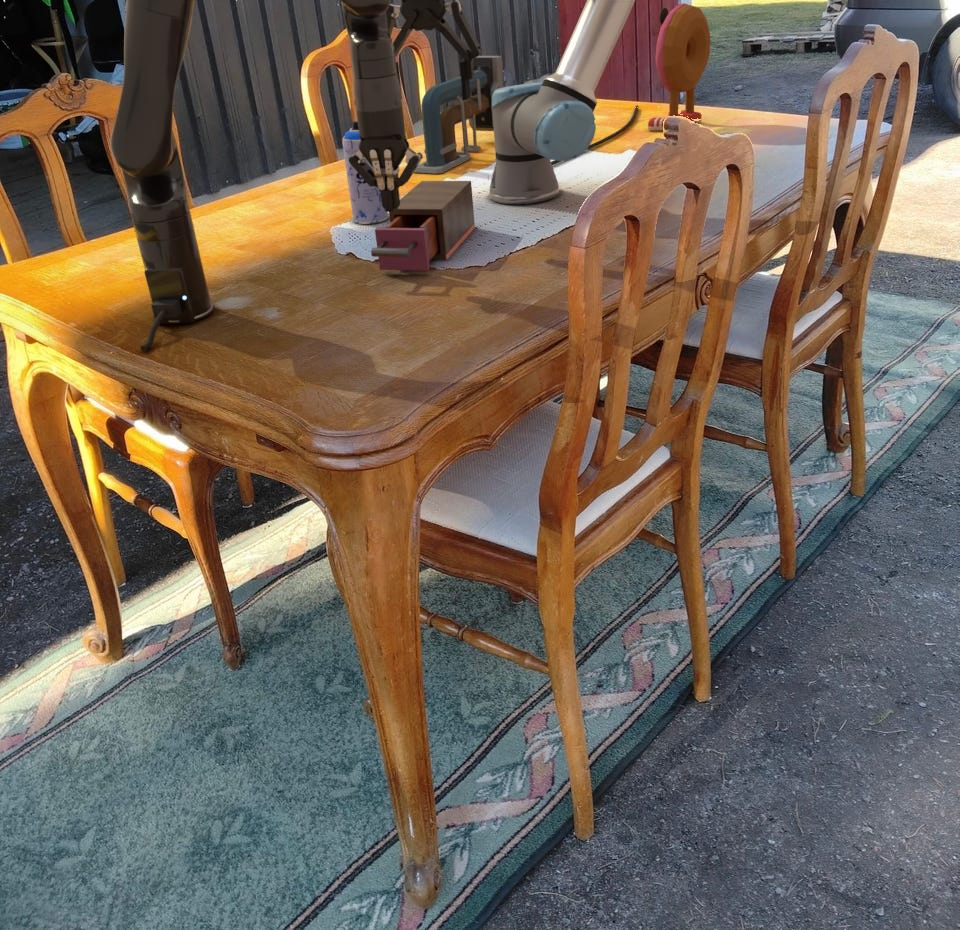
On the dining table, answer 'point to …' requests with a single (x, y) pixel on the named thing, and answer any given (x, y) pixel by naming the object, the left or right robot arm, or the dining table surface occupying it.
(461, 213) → the cabinet
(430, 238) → the drawer
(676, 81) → the toy
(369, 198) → the aerosol can
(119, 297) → the dining table surface
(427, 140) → the clamp
